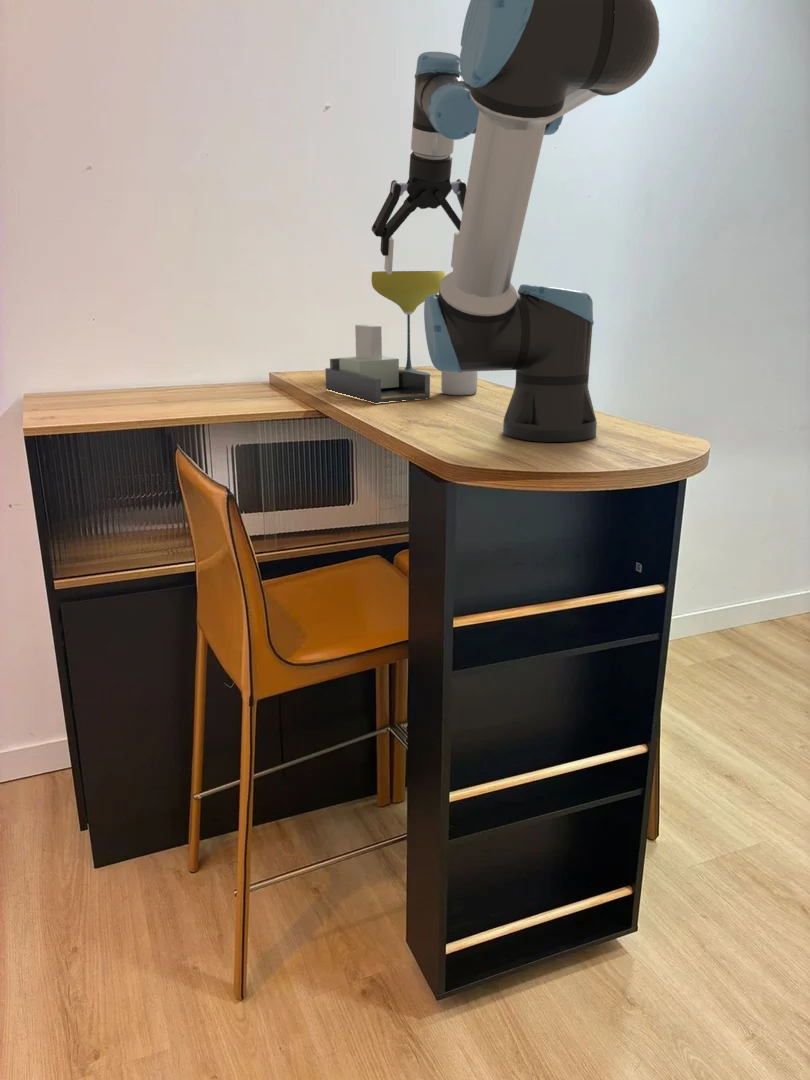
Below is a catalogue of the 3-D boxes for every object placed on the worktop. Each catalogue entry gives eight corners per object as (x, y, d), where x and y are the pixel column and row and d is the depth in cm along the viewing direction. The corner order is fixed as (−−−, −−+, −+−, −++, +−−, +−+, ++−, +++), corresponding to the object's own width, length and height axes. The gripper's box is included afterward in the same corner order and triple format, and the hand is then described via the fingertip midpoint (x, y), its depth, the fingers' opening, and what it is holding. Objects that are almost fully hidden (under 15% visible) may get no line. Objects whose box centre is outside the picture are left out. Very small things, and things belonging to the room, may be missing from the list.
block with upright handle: (398, 386, 177) (398, 325, 173) (360, 390, 173) (358, 327, 169) (377, 382, 185) (377, 323, 181) (340, 385, 180) (338, 325, 176)
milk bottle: (478, 396, 174) (480, 298, 168) (441, 396, 175) (442, 298, 168) (475, 390, 182) (477, 296, 175) (440, 390, 182) (441, 296, 176)
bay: (429, 398, 171) (429, 364, 169) (375, 404, 165) (375, 369, 162) (376, 386, 189) (376, 355, 187) (326, 391, 182) (325, 359, 180)
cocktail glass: (457, 373, 210) (458, 271, 202) (420, 381, 196) (421, 271, 188) (397, 369, 220) (397, 271, 212) (359, 377, 205) (356, 271, 197)
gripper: (489, 146, 152) (475, 259, 165) (358, 147, 145) (354, 265, 159) (504, 158, 146) (488, 274, 160) (368, 160, 140) (364, 280, 153)
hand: (421, 270), depth 159 cm, fingers open, 13 cm apart
